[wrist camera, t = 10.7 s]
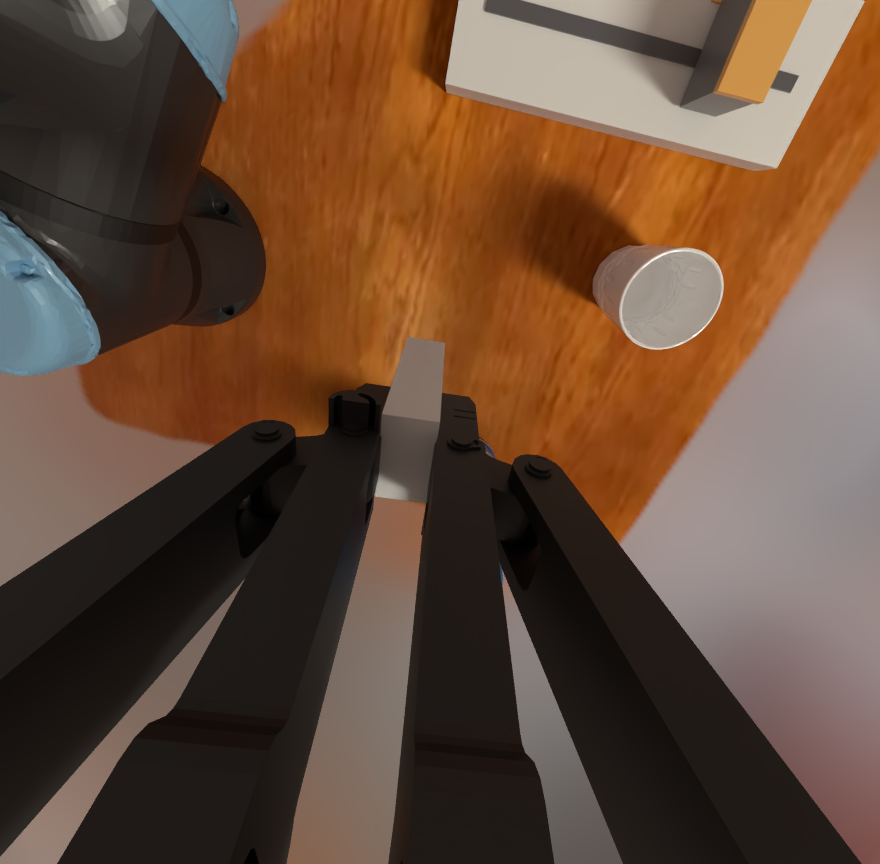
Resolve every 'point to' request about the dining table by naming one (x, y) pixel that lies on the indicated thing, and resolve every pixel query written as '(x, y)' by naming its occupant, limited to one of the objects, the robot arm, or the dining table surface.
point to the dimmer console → (636, 70)
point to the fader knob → (742, 54)
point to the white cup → (658, 293)
